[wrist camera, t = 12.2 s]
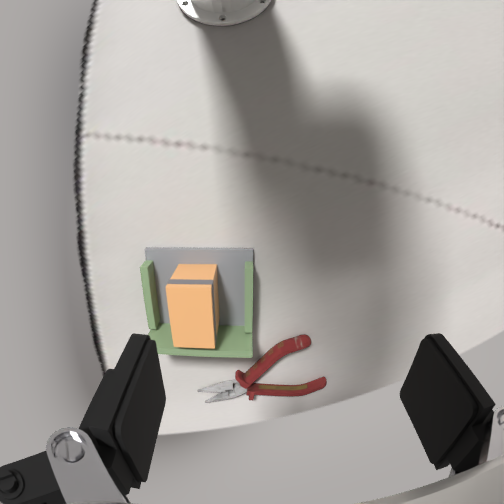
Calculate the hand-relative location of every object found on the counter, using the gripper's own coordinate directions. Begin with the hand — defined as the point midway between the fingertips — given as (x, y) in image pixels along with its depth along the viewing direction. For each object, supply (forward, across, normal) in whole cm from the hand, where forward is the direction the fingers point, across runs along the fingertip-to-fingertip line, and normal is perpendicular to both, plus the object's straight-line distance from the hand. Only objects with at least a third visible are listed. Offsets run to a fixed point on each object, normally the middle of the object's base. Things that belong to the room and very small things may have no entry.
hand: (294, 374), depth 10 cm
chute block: (+28, +7, +13) cm, 32 cm away
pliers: (+29, -2, +26) cm, 39 cm away
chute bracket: (+29, +7, +13) cm, 33 cm away
